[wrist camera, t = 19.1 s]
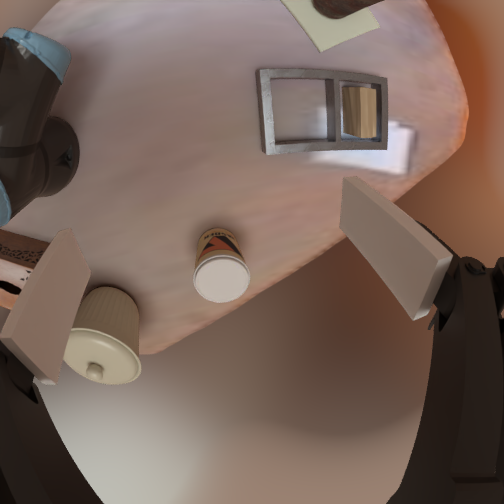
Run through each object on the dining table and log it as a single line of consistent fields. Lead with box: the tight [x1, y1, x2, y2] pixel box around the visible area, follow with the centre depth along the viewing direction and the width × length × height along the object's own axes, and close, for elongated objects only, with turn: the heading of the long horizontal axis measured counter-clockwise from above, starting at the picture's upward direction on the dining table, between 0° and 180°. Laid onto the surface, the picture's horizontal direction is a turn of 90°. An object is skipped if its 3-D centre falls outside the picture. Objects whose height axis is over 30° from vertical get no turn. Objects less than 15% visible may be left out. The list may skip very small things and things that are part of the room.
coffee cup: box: [193, 228, 250, 303], centre depth 48 cm, size 9×9×12 cm
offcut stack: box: [342, 87, 376, 138], centre depth 41 cm, size 4×9×6 cm, turn 5°
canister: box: [63, 286, 142, 385], centre depth 48 cm, size 18×18×21 cm
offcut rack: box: [256, 69, 388, 155], centre depth 41 cm, size 24×14×4 cm, turn 95°
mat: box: [280, 0, 380, 52], centre depth 31 cm, size 16×16×1 cm
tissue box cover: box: [0, 229, 50, 310], centre depth 43 cm, size 26×14×10 cm, turn 70°
